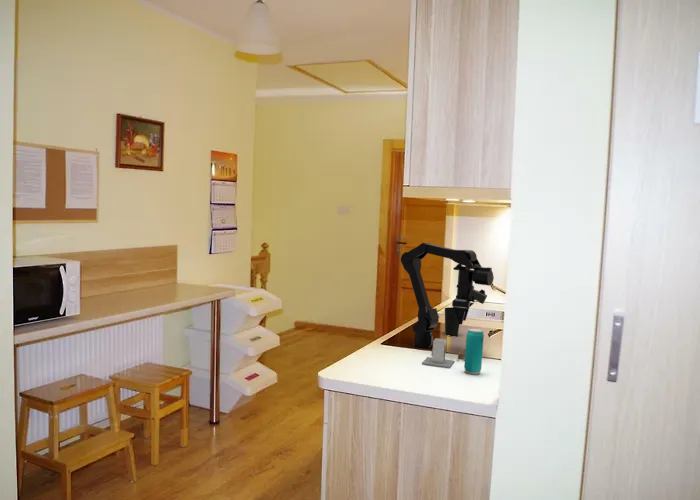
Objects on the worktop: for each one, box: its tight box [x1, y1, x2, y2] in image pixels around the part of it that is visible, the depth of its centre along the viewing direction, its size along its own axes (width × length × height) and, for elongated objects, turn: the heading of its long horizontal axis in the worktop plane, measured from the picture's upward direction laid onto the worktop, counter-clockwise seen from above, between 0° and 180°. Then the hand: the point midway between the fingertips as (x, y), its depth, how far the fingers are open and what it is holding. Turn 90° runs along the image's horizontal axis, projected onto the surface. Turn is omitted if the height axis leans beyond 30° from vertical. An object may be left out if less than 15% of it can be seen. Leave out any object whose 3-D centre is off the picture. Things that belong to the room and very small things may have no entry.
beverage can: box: [464, 327, 485, 376], centre depth 199 cm, size 6×6×15 cm
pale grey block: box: [431, 337, 447, 364], centre depth 209 cm, size 4×4×8 cm
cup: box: [444, 307, 461, 337], centre depth 261 cm, size 8×8×12 cm
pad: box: [421, 356, 455, 369], centre depth 210 cm, size 10×10×1 cm
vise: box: [431, 348, 466, 361], centre depth 222 cm, size 18×9×2 cm, turn 71°
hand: (462, 322), depth 225 cm, fingers open, 9 cm apart
